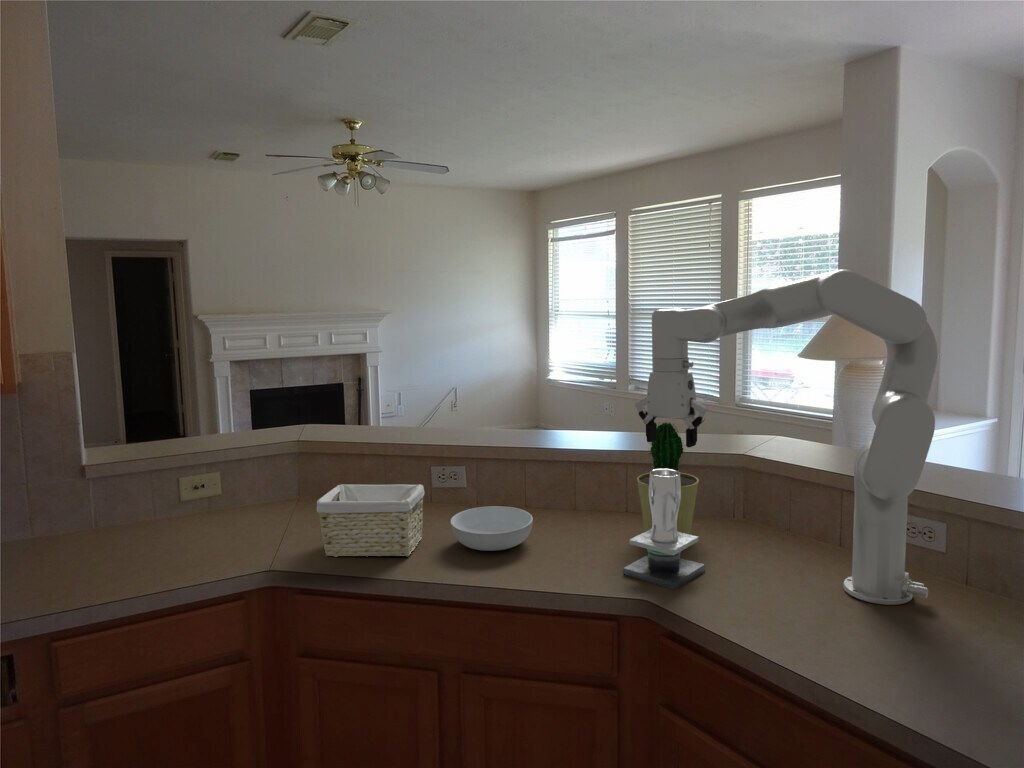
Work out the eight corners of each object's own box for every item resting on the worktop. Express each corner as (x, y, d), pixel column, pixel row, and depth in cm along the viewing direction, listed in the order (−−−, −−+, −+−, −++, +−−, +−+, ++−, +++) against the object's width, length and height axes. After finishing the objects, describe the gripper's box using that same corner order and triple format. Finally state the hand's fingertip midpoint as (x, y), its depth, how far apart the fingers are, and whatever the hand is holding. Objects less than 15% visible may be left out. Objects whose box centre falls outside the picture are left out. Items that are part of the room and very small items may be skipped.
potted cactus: (701, 546, 174) (702, 426, 170) (638, 544, 176) (637, 426, 172) (695, 525, 189) (696, 414, 185) (637, 524, 191) (636, 415, 187)
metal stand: (704, 570, 159) (704, 536, 158) (674, 589, 149) (674, 553, 148) (654, 557, 168) (654, 524, 166) (623, 574, 158) (622, 540, 157)
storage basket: (317, 559, 174) (313, 500, 172) (341, 536, 189) (337, 482, 188) (412, 560, 170) (409, 501, 168) (428, 537, 186) (425, 483, 184)
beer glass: (681, 544, 153) (681, 477, 151) (648, 543, 155) (648, 476, 152) (679, 533, 160) (680, 468, 158) (648, 531, 161) (648, 468, 159)
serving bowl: (440, 557, 172) (438, 530, 171) (465, 528, 192) (464, 504, 191) (523, 562, 167) (522, 534, 166) (540, 532, 187) (540, 507, 186)
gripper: (715, 365, 150) (715, 445, 152) (644, 362, 161) (646, 436, 163) (698, 369, 144) (699, 451, 146) (626, 366, 156) (628, 442, 158)
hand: (671, 443), depth 155 cm, fingers open, 9 cm apart
